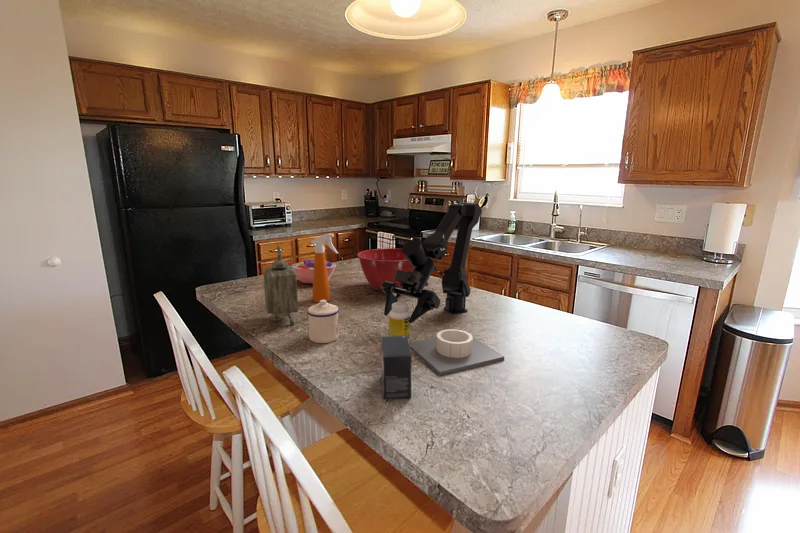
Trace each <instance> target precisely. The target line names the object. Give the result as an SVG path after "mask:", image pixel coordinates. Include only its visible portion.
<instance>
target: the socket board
mask: <svg viewBox="0 0 800 533" xmlns="http://www.w3.org/2000/svg"><path fill="white" fill-rule="evenodd" d="M409 346H410V351H411V353H413V354H415V355H416V356H417V357H418V358H419V359H420V360H422V362H424V363H425V364H426V365H427V366H428V367H429V368H431V369H432V370H433V371H434V372H436V374H438V376H440V377H441V376H444V375H449V374H453V373H456V372H457V373H458V372H460V371H464V370H468V369H469V370H470V369H472V368H477V367H480V366H481V365H482V366H485V365H489V364H493V363H497V362H502V361H505V356H504V355H503V354H501V353H500V352H498V351H497V350H494V349H493V348H491V347H490V346H488V345H487V344H485V343H483V342H482V341H481V340H479V339H477V338H475V337H474V336H473V334H471V333H470V332H468V331H464V330H463V329H462V330H461V329H454V328H453V329H452V328H450V329H449V328H448V329H442V330H440V331H438V332H437V333H436V337H432V338H428V339H422V340H417V341H416V340H415V341H412V342H411V341H410V342H409ZM482 366H481V367H482Z"/></svg>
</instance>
